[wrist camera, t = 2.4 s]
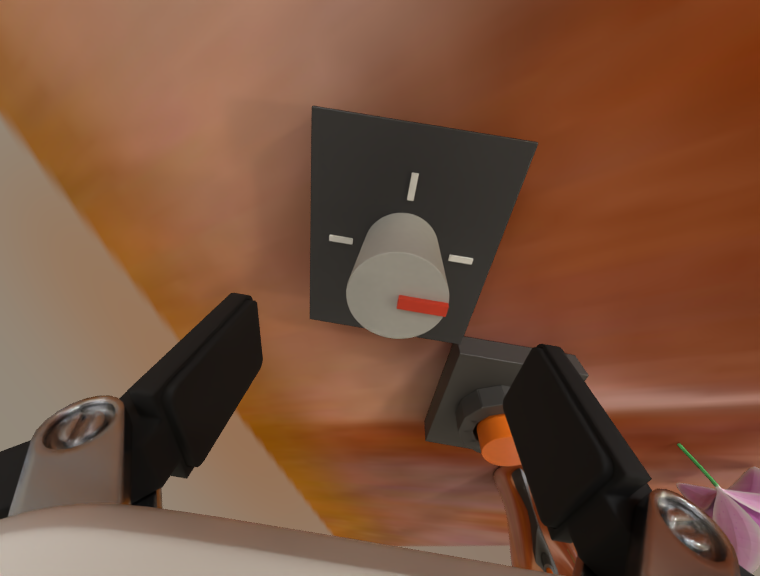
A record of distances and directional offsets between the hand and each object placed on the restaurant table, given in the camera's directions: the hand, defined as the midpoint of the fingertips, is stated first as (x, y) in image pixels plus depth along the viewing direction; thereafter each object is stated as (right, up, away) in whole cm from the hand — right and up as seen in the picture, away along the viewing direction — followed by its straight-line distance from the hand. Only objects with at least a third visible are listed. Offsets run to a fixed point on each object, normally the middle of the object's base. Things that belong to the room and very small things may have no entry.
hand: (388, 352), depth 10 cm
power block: (+10, -8, +17) cm, 21 cm away
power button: (+10, -9, +14) cm, 19 cm away
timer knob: (+1, +5, +7) cm, 8 cm away
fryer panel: (+1, +6, +10) cm, 11 cm away
